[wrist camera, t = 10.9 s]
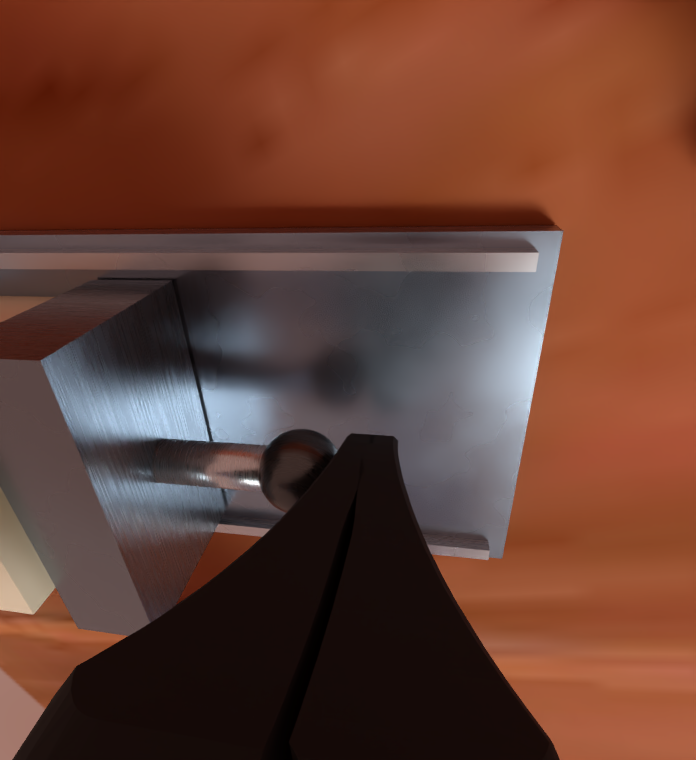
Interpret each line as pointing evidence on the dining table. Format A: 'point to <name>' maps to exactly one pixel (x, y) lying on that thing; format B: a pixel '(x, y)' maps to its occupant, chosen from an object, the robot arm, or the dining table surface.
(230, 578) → the robot arm
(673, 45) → the dining table surface
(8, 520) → the block
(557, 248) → the vise
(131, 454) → the jaw
